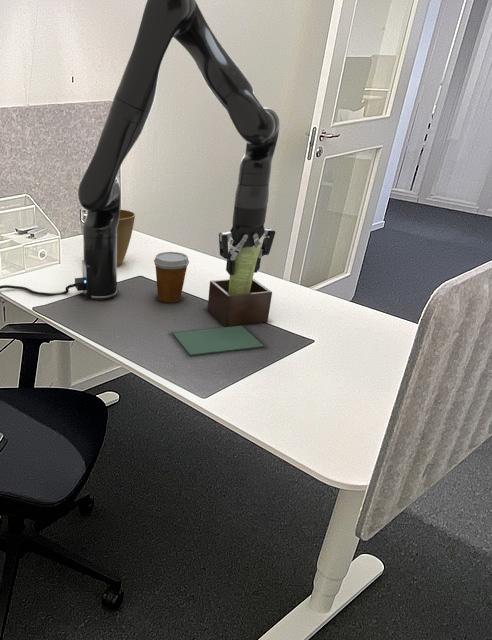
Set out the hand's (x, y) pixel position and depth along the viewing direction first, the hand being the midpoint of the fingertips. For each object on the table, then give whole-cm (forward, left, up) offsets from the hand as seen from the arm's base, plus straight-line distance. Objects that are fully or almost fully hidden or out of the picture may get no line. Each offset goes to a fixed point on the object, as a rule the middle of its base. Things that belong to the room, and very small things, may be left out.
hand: (242, 272), depth 143 cm
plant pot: (-21, +51, -12) cm, 56 cm away
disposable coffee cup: (-13, +16, -12) cm, 24 cm away
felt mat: (-11, -13, -12) cm, 21 cm away
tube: (0, 0, -12) cm, 12 cm away
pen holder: (0, 0, -12) cm, 12 cm away
